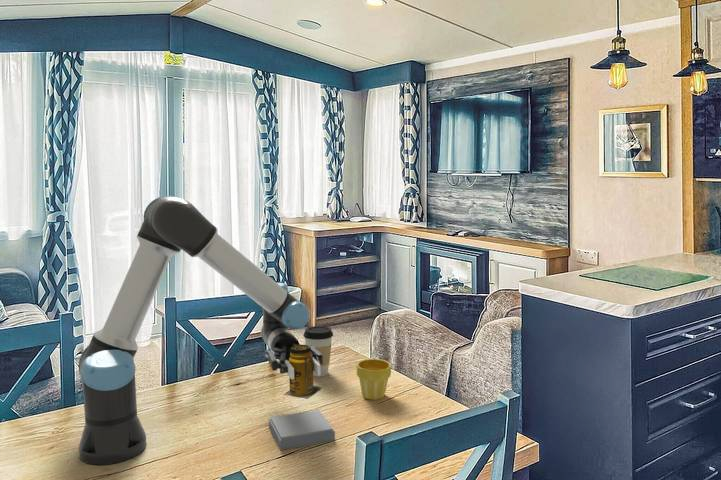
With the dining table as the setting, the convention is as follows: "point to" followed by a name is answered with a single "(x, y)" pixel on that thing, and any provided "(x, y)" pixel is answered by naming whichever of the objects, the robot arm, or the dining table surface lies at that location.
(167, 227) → the robot arm
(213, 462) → the dining table surface
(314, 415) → the grey square coaster
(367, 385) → the plant pot
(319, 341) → the coffee cup
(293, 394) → the condiment
